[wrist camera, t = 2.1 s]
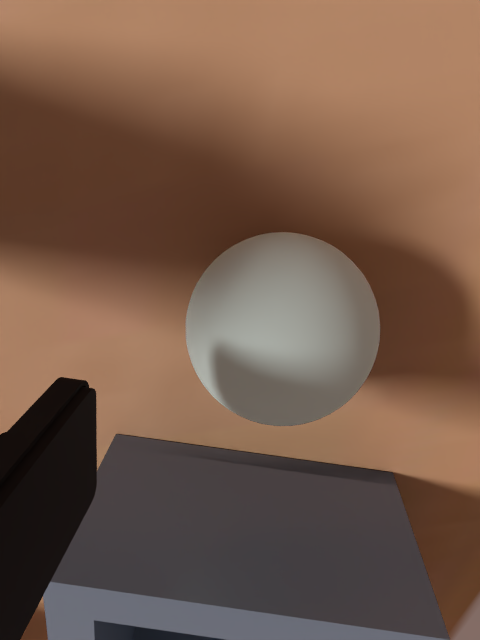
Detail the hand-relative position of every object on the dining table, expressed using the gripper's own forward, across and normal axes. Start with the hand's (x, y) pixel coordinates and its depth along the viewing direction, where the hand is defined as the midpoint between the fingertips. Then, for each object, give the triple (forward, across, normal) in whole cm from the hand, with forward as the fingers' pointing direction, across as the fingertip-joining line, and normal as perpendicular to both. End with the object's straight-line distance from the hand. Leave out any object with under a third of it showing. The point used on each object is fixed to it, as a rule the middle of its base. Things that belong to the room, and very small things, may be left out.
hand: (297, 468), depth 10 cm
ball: (+5, 0, -1) cm, 5 cm away
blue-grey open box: (+9, +1, +13) cm, 15 cm away
